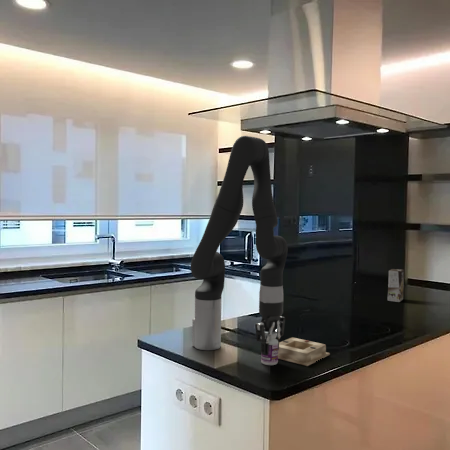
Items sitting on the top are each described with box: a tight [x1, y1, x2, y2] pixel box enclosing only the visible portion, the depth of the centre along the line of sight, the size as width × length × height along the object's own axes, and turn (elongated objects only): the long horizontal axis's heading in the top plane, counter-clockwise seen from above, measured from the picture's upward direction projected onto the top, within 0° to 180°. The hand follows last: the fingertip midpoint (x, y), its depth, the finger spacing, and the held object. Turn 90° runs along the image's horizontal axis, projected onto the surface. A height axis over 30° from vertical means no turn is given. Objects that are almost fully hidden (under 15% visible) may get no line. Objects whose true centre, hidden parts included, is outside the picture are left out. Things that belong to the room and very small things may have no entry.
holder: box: [278, 336, 331, 367], centre depth 164 cm, size 15×15×4 cm
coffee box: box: [387, 268, 405, 303], centre depth 260 cm, size 9×6×16 cm
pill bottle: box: [260, 332, 279, 366], centre depth 156 cm, size 5×5×10 cm
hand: (270, 352), depth 156 cm, fingers closed on pill bottle, 5 cm apart
